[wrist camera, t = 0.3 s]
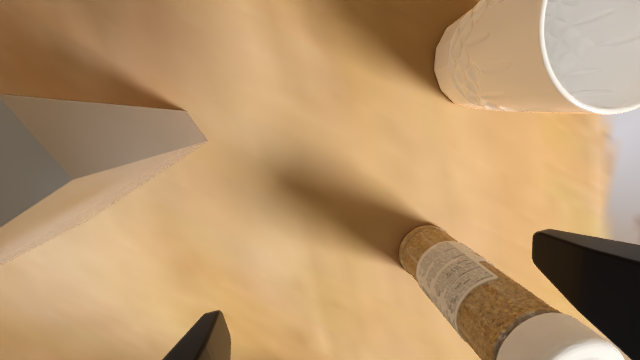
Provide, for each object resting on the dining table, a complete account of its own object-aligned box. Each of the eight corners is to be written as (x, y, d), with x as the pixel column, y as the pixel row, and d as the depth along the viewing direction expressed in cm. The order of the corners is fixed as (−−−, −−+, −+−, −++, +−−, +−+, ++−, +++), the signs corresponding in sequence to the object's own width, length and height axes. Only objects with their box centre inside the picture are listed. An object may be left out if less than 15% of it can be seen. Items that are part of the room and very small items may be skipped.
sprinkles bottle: (458, 256, 25) (648, 403, 12) (411, 285, 25) (551, 463, 12) (435, 212, 24) (616, 321, 11) (386, 242, 24) (510, 386, 11)
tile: (208, 140, 21) (72, 179, 7) (88, 220, 21) (-267, 403, 7) (184, 108, 20) (-11, 86, 7) (60, 189, 20) (-379, 330, 7)
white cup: (517, 117, 24) (684, 115, 14) (420, 115, 23) (526, 112, 13) (533, 6, 22) (732, -84, 12) (429, -1, 21) (557, -105, 11)
